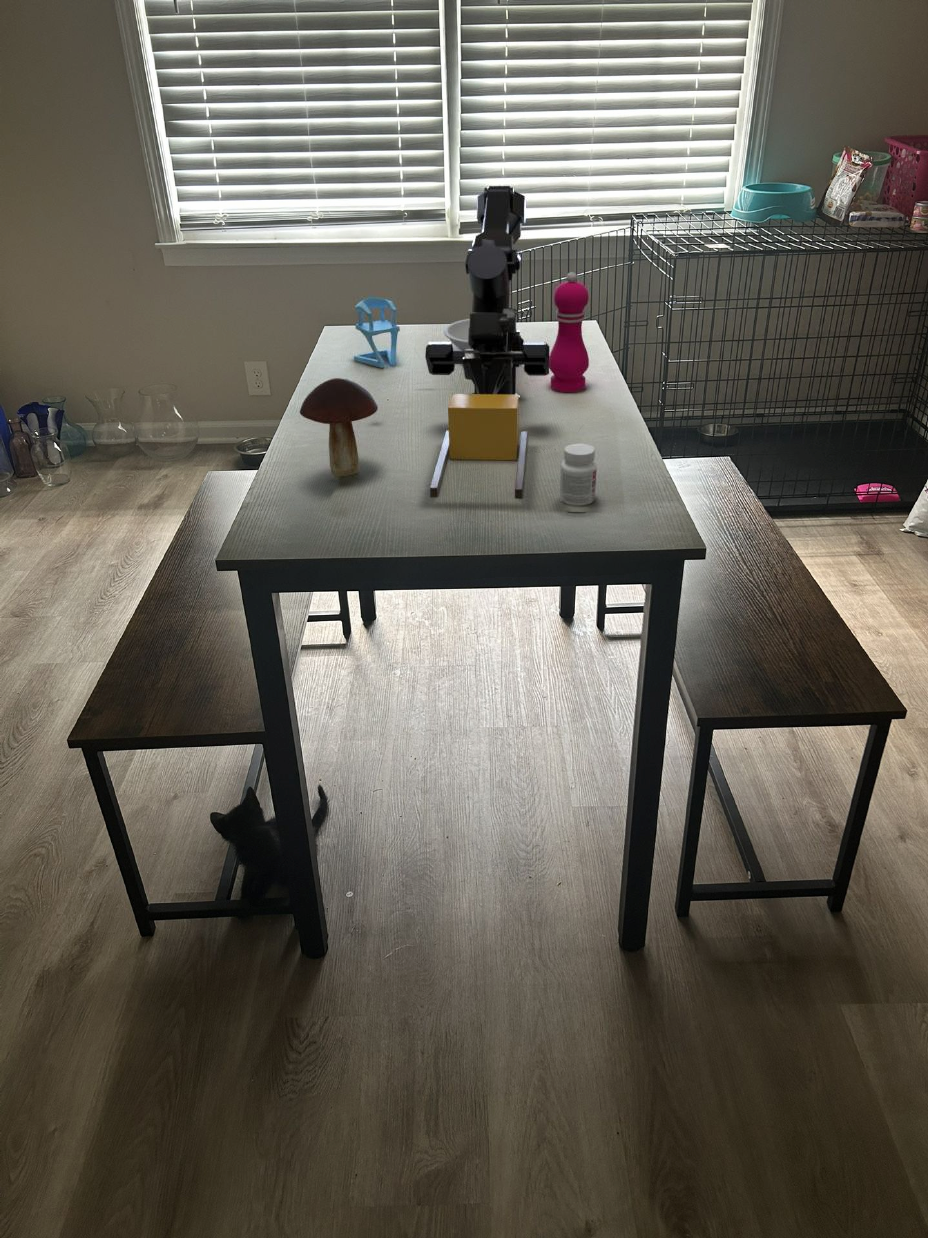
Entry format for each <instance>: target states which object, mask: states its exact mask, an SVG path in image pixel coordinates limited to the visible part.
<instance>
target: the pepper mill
mask: <svg viewBox="0 0 928 1238" xmlns="http://www.w3.org/2000/svg"><path fill="white" fill-rule="evenodd" d="M577 280H578V275H577V274H576V272H574V271H571V272H568V274H566V281H563V282H561V283H560V284H559V285H558V286H557V287H556V288H555V290H554V292H553V303H554V306H555V307H556V308H557V310H556V311H555V314H556V316H555V319H556V321H557V325H558V328H557V335H556V337H555V338H556V339H555V340H554V341H555V342H554V344H553V346H552V347H551V350H550V352H549V371H550V372H551V373H552V375H551V377H550V388H551V389H552V390H553V391H556V392H560V393H576V392H580V391H583V390H584V389H585V388H586V376H585V375H584V374H585V373H586V372H587V370H588V369H589V366H590V358H589V353H588V350H587V347H586V345H585V342H584V338H583V330H582V328H583V327H582V326H583V321H584V320H585V318H586V316H585V314H586V311H585V310H584V309H585V307H586V306H587V305H588V303H589V291H588V289H587V287H586V285H584V284H583V283H581V282H579V281H577Z"/></svg>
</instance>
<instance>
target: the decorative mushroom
mask: <svg viewBox="0 0 928 1238" xmlns="http://www.w3.org/2000/svg"><path fill="white" fill-rule="evenodd" d="M378 409H379V406H378V403H377V402H376V399H374V397H373V396H372V395H371V393H370V392H369V390H367V389H366V388H365V387H363V386H361V384H359V383H357V382H355V381H352V380H349V379H347V378H341V377H333V378H330V379H328V380H325V381H323V382H321V383H319V385H317V386H316V387H314V388H313V390H311V391H310V392H309V393H308V394H307V396H306V397H305V398H304V400H303V401H302V404H301V407H300V409H299V414H300V416H301V417H303V418H305V419H307V420H310V421H313V422H316V423H320V424H325V425H329V431H328V456H329V457H328V459H329V468H330V472H331V474H332V476H333V477H334V478H336V480H337V479H338V480H341V478H342V477H348V476H352V475H355V474H357V473H358V472H359V471H360V460H359V451H358V445H357V440H356V435H355V431H354V427H353V426H354V425H353V422H356V421H360V420H364V419H367V418H369V417H371V416H373V415H375V414H376V413H377V411H378Z"/></svg>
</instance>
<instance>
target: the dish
mask: <svg viewBox="0 0 928 1238" xmlns="http://www.w3.org/2000/svg"><path fill="white" fill-rule="evenodd" d="M469 327H470V318H466V319H461V320H457V321H455V322H452V323H450V324H448V325H447V326H446V327H445V328H444V330H443V334H444V336H445V337H446V339H449V340H450V342H452V345H454V346H455V347H456V348H458V349H459V351H464V349H470V346H469V345H468V334H469ZM516 331H518V330H517V328H516Z"/></svg>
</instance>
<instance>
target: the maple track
mask: <svg viewBox="0 0 928 1238" xmlns="http://www.w3.org/2000/svg"><path fill="white" fill-rule="evenodd" d="M528 434H529V432H528V431H521V432H520V440H519V446H518V455H517V467H516V475H515V483H514V484H515V486H514V499H523V493H524V483H525V471H526V461H527V449H528V438H529V437H528ZM439 452H440V453H439V456H438V460H437V462H436V466H435V469H434V472H433V476H432V480H431V483H430V486H429V496H430V498H438V496H439V493H440V489H441V486H442V481H443V479H444V474H445V470H446V467H447V463H448V460H449V457H450V455H449V430H446V432H445V435H444V439H443V442H442V445H441V449H440V451H439Z"/></svg>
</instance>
